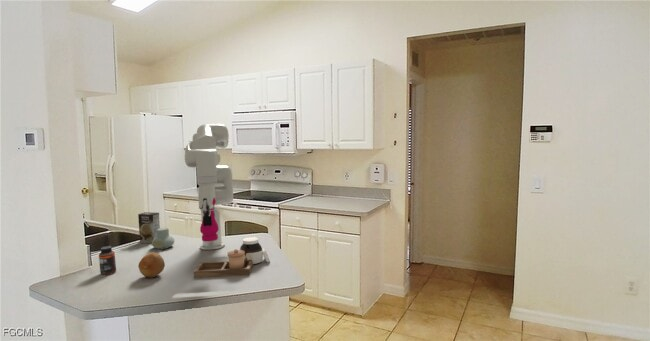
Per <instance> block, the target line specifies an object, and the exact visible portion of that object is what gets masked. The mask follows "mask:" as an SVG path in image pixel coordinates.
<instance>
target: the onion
mask: <svg viewBox="0 0 650 341" xmlns="http://www.w3.org/2000/svg"><path fill="white" fill-rule="evenodd" d="M165 264H166V263H165V261H164V259H163V257H162V256H161V254H159V253H157V252H154V251H152V252H149V253H147V254H145V255H144V256H143V257H142V258H141V259H140V261H139V263H138V265H137V266H138V270H139V272H140V274H141V275H142V276H144V277H147V278H154V277H157V276H158V275H160V274H162V272H163V271H164V269H165V266H166V265H165Z"/></svg>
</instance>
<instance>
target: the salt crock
mask: <svg viewBox="0 0 650 341" xmlns="http://www.w3.org/2000/svg"><path fill="white" fill-rule="evenodd" d="M244 254H245V251H243V250H240V249H234V250H231V251H228V252H227V257H228V261H229V269H239V268H245V263H244Z"/></svg>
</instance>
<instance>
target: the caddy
mask: <svg viewBox="0 0 650 341" xmlns="http://www.w3.org/2000/svg"><path fill="white" fill-rule="evenodd" d="M244 263H245V268H239V269H229V260H228V261H226V260H225V261H208V262H205V261H204V262H200V263H199V264H198V265H197V267H195V269H194V271H193V278H194V279H198V278H217V277H234V276H235V277H237V276H250V275H251V271H252V268H253V266H254V265H253V263H252V260H244Z"/></svg>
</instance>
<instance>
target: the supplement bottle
mask: <svg viewBox="0 0 650 341" xmlns="http://www.w3.org/2000/svg"><path fill="white" fill-rule="evenodd" d="M98 261H99V262H98V264H99V273H100V275H102V276H106V275H107V276H108V275H112V274H115V273H116V272H117V265H116V254H115V251H113V249H112V246H111V245H109V246H108V245H107V246H102V247H101V248H100V252H99V254H98Z"/></svg>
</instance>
